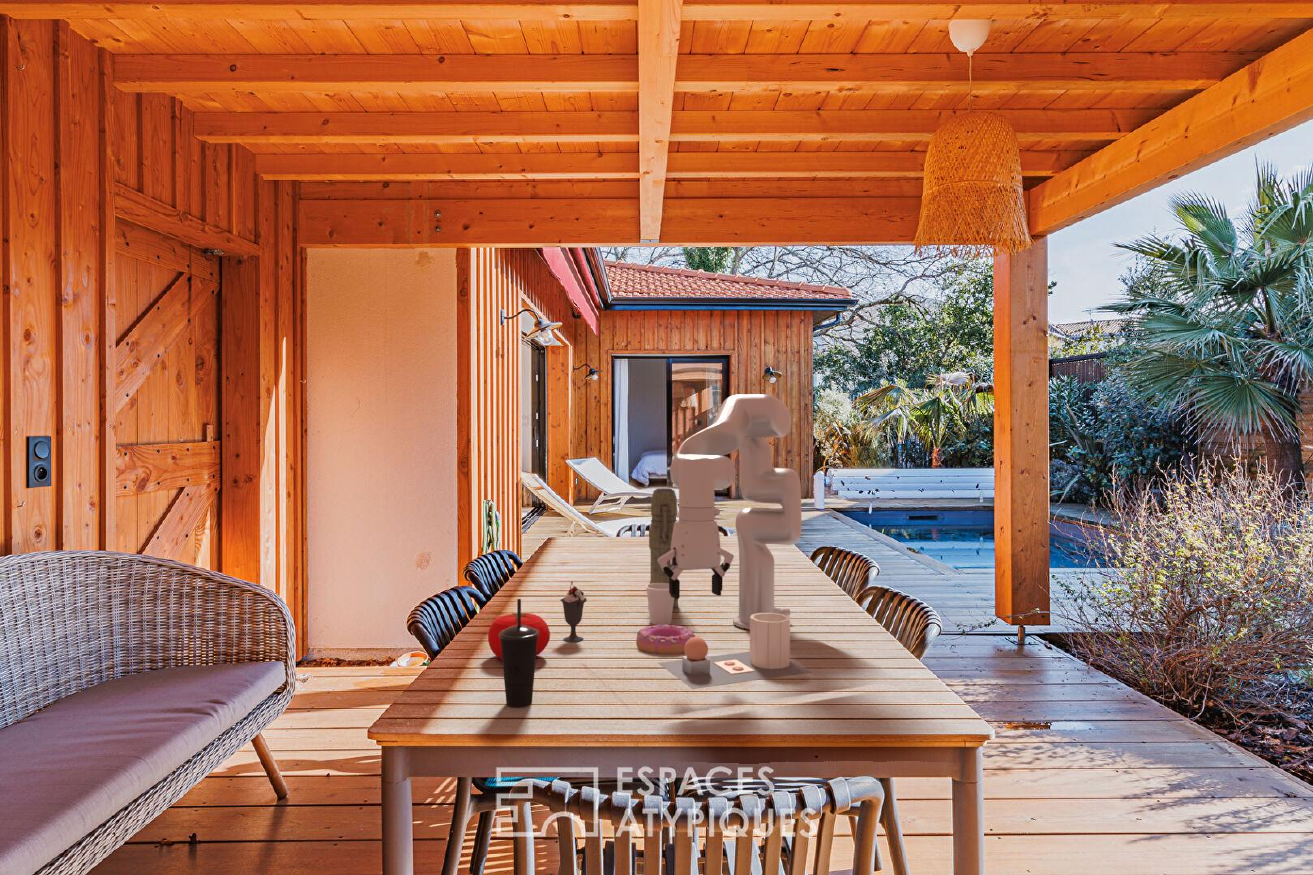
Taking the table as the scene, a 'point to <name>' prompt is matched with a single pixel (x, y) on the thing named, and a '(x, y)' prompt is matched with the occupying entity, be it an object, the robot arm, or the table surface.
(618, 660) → the table surface
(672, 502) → the olive tall column
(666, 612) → the dixie cup
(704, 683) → the board
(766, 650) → the tube
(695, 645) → the ball
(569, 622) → the sundae
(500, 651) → the tomato
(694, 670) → the grey hollow block
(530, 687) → the drinking cup
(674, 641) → the donut
